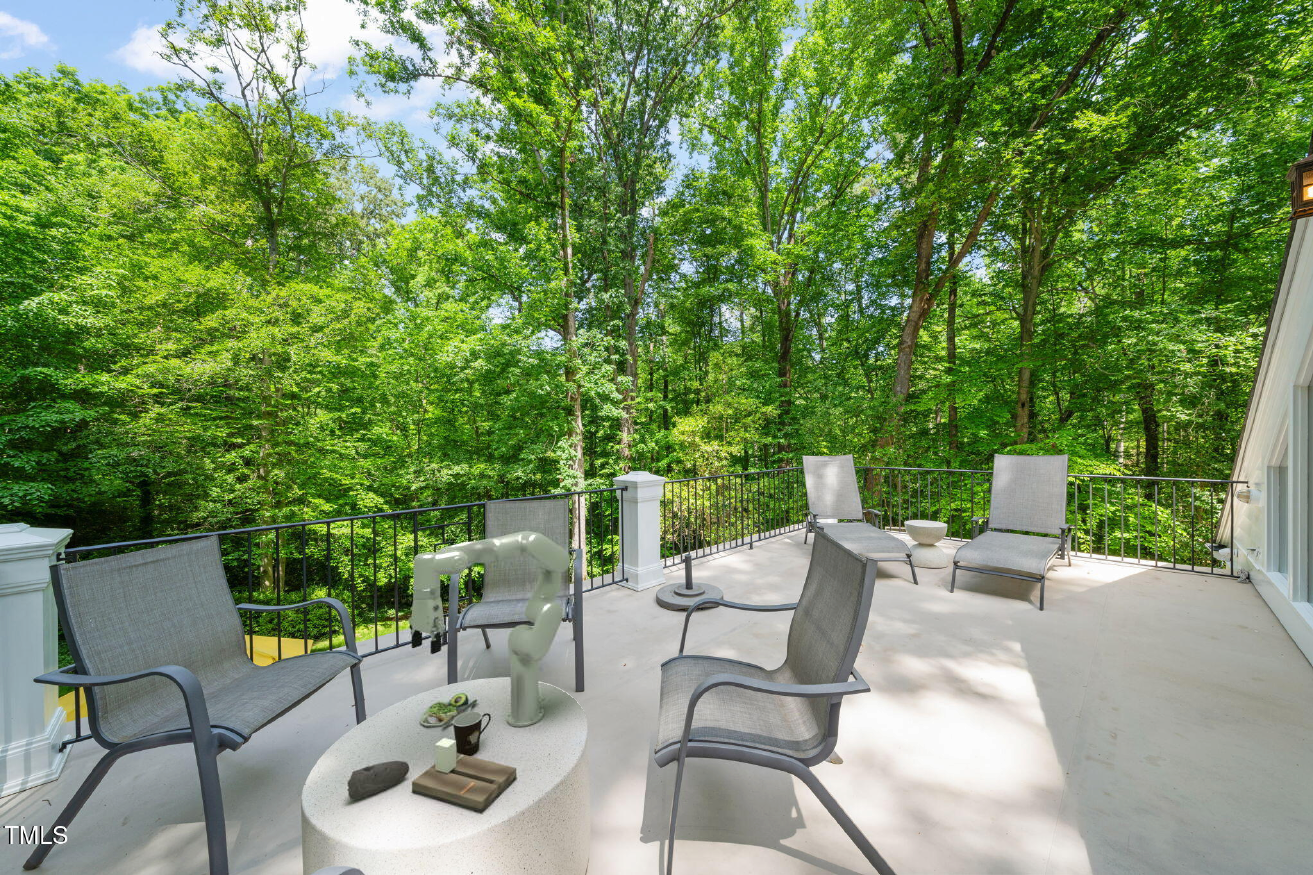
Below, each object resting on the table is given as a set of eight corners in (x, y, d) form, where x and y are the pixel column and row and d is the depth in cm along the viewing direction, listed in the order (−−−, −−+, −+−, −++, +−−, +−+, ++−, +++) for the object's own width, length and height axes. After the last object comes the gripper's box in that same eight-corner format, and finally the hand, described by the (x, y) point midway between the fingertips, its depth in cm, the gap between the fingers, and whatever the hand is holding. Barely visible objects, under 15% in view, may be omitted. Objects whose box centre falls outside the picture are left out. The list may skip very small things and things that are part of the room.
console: (451, 761, 142) (451, 750, 142) (516, 778, 133) (516, 767, 133) (412, 792, 129) (412, 780, 129) (481, 813, 120) (481, 800, 120)
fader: (444, 768, 136) (443, 737, 136) (456, 771, 134) (455, 740, 135) (435, 775, 133) (435, 744, 134) (447, 778, 131) (447, 747, 132)
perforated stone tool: (408, 773, 137) (408, 749, 137) (410, 783, 133) (410, 758, 133) (346, 796, 129) (346, 769, 129) (347, 807, 124) (347, 780, 125)
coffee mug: (454, 763, 141) (454, 729, 142) (452, 748, 149) (451, 715, 149) (494, 751, 147) (494, 718, 147) (490, 737, 154) (490, 706, 155)
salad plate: (468, 728, 160) (468, 714, 161) (412, 735, 157) (412, 721, 158) (479, 700, 179) (479, 688, 180) (429, 706, 176) (429, 694, 177)
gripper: (455, 593, 145) (454, 650, 144) (421, 587, 154) (420, 640, 153) (432, 599, 139) (431, 659, 138) (399, 592, 148) (398, 648, 147)
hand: (426, 649), depth 145 cm, fingers open, 9 cm apart
